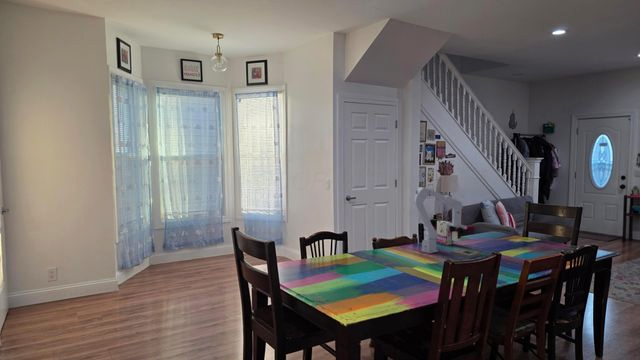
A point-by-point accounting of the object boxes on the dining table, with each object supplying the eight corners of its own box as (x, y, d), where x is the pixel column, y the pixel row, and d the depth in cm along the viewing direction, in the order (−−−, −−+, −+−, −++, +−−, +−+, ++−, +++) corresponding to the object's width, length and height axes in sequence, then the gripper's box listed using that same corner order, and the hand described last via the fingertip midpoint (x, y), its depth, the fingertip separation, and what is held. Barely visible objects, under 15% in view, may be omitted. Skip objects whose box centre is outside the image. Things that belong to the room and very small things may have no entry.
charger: (457, 241, 278) (457, 232, 277) (451, 240, 281) (452, 231, 281) (460, 240, 280) (460, 231, 280) (455, 239, 284) (455, 230, 283)
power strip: (469, 258, 262) (469, 254, 261) (450, 254, 273) (450, 250, 272) (480, 255, 269) (480, 251, 269) (461, 251, 280) (461, 247, 280)
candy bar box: (451, 244, 299) (452, 222, 297) (446, 245, 297) (447, 223, 295) (441, 241, 309) (441, 220, 307) (436, 242, 307) (436, 220, 305)
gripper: (469, 218, 276) (469, 238, 277) (450, 216, 288) (450, 235, 289) (463, 220, 272) (463, 240, 273) (444, 217, 283) (444, 236, 284)
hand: (456, 237), depth 281 cm, fingers closed on charger, 4 cm apart
